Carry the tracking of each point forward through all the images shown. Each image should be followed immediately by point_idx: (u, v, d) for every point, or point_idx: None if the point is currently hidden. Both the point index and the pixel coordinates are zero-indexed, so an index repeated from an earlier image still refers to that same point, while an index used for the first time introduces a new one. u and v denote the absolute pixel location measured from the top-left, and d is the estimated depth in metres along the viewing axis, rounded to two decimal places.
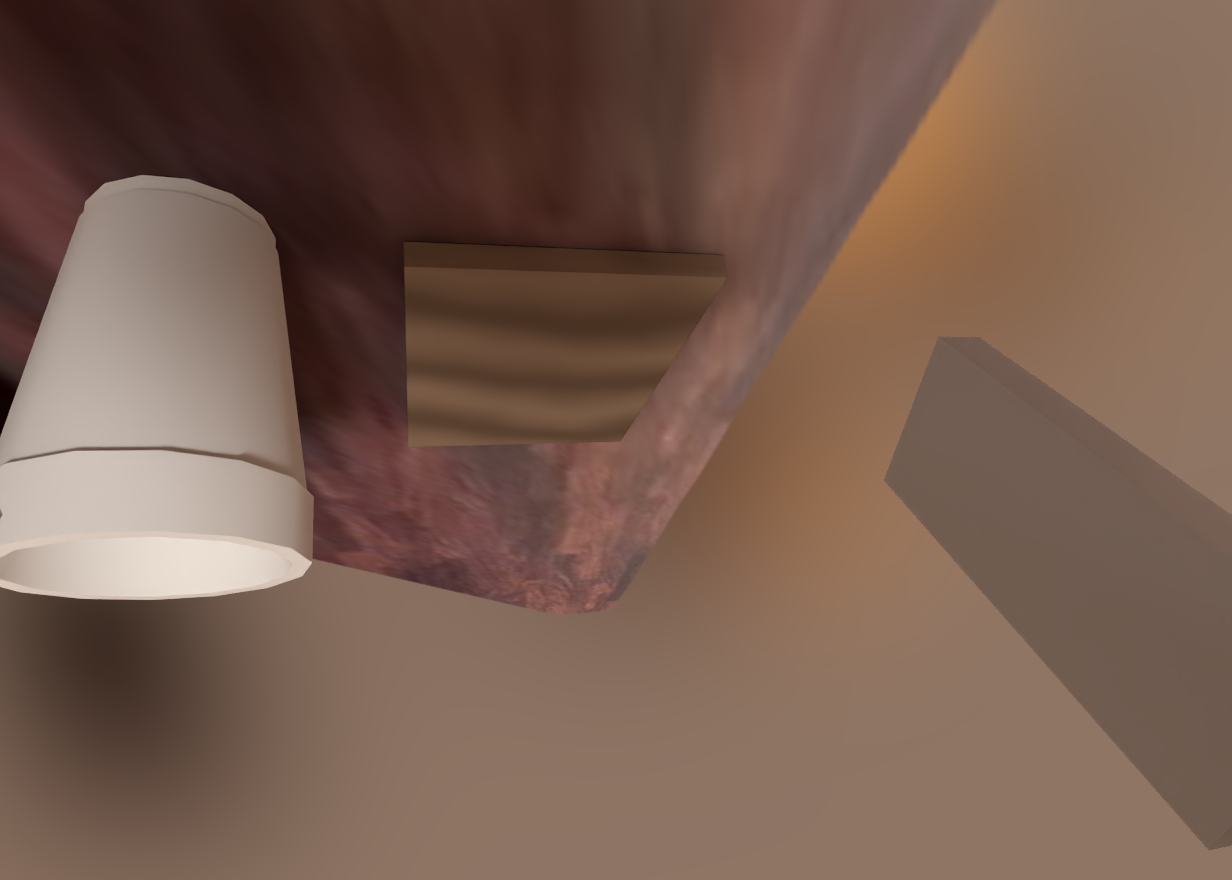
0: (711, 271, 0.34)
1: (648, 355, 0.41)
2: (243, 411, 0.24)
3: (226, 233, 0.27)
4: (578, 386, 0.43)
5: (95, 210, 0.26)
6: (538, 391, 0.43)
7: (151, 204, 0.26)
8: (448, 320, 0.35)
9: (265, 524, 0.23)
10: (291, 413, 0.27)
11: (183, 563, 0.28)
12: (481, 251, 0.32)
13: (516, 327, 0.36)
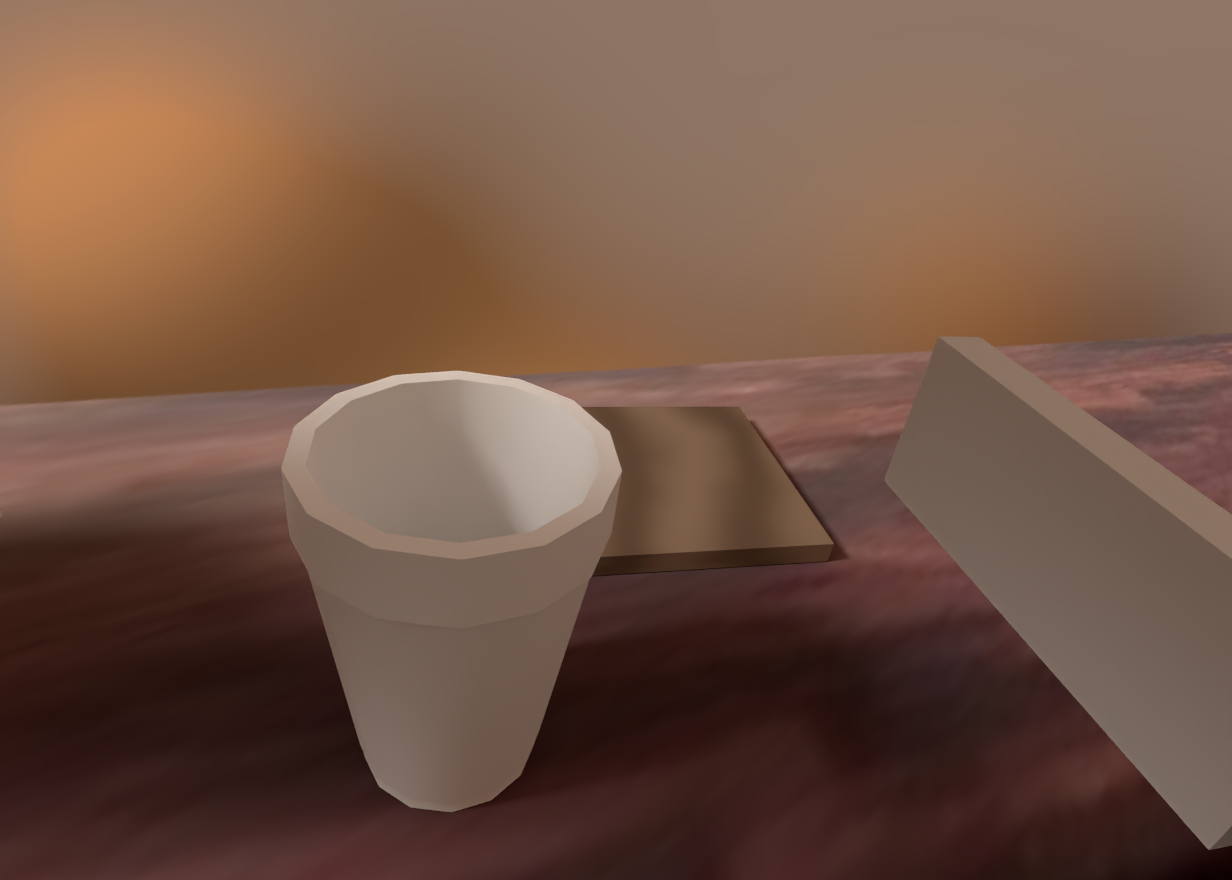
0: None
1: None
2: None
3: None
4: (630, 447, 0.45)
5: (373, 768, 0.26)
6: (649, 468, 0.44)
7: None
8: None
9: None
10: None
11: (588, 479, 0.24)
12: None
13: None
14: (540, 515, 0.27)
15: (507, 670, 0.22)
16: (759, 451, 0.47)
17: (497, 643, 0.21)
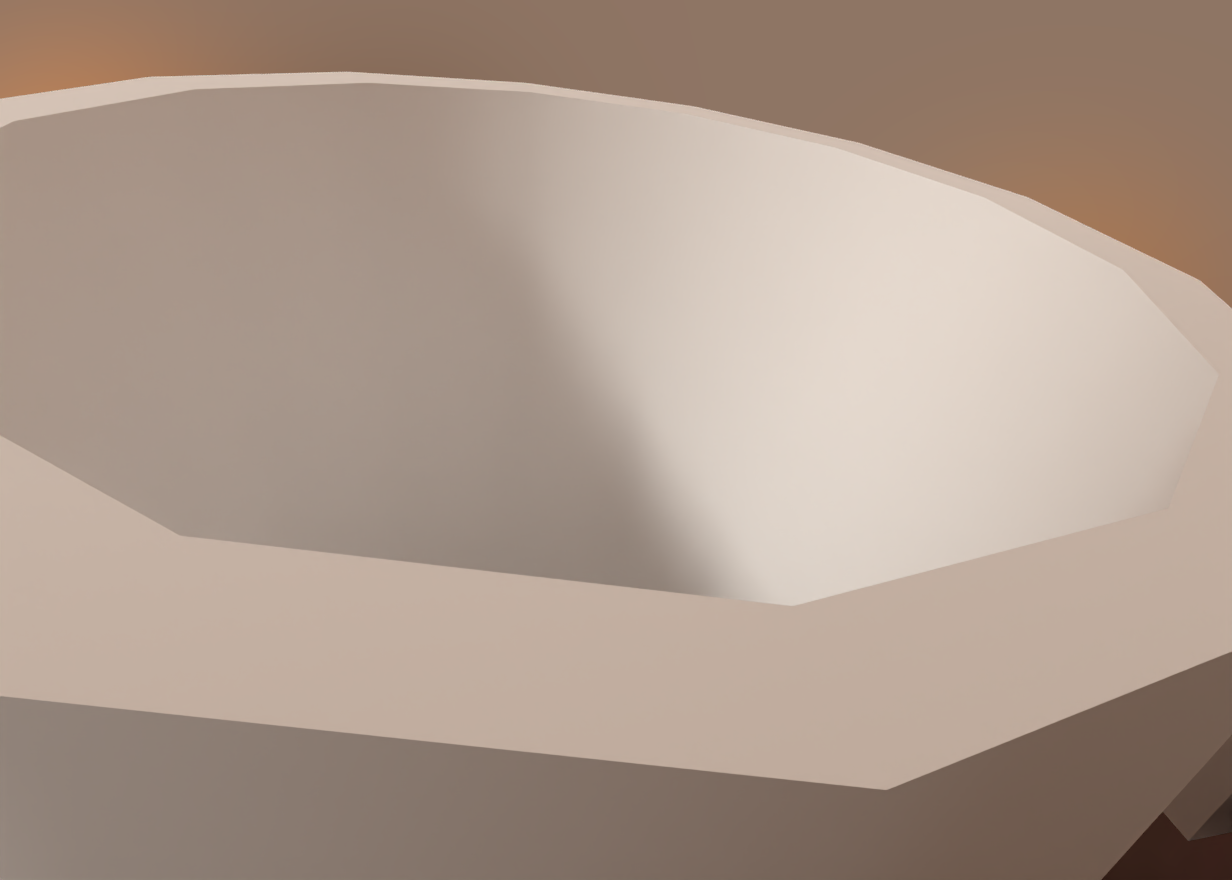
0: None
1: None
2: None
3: None
4: None
5: None
6: None
7: None
8: None
9: None
10: None
11: (981, 345, 0.07)
12: None
13: None
14: (735, 477, 0.11)
15: None
16: None
17: None
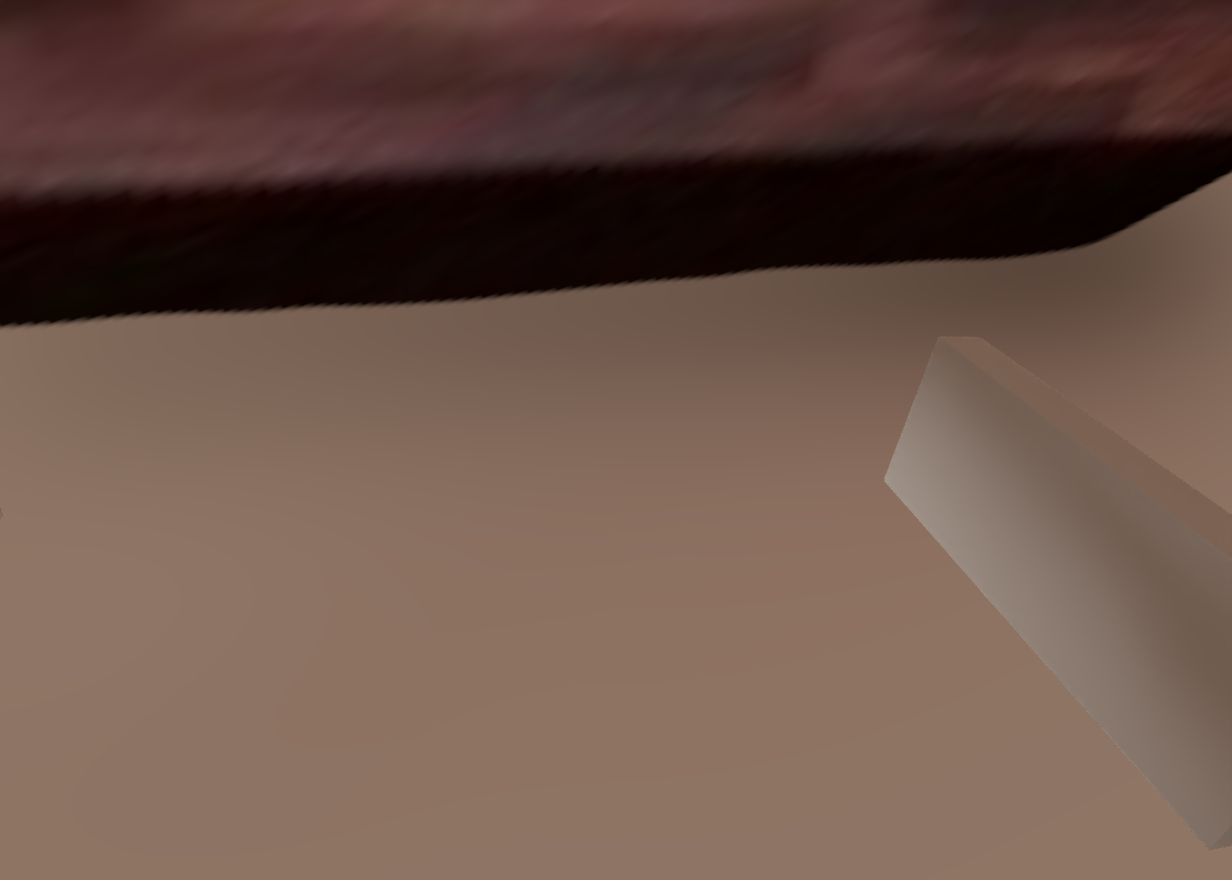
0: None
1: None
2: None
3: None
4: None
5: None
6: None
7: None
8: None
9: None
10: None
11: None
12: None
13: None
14: None
15: None
16: None
17: None
